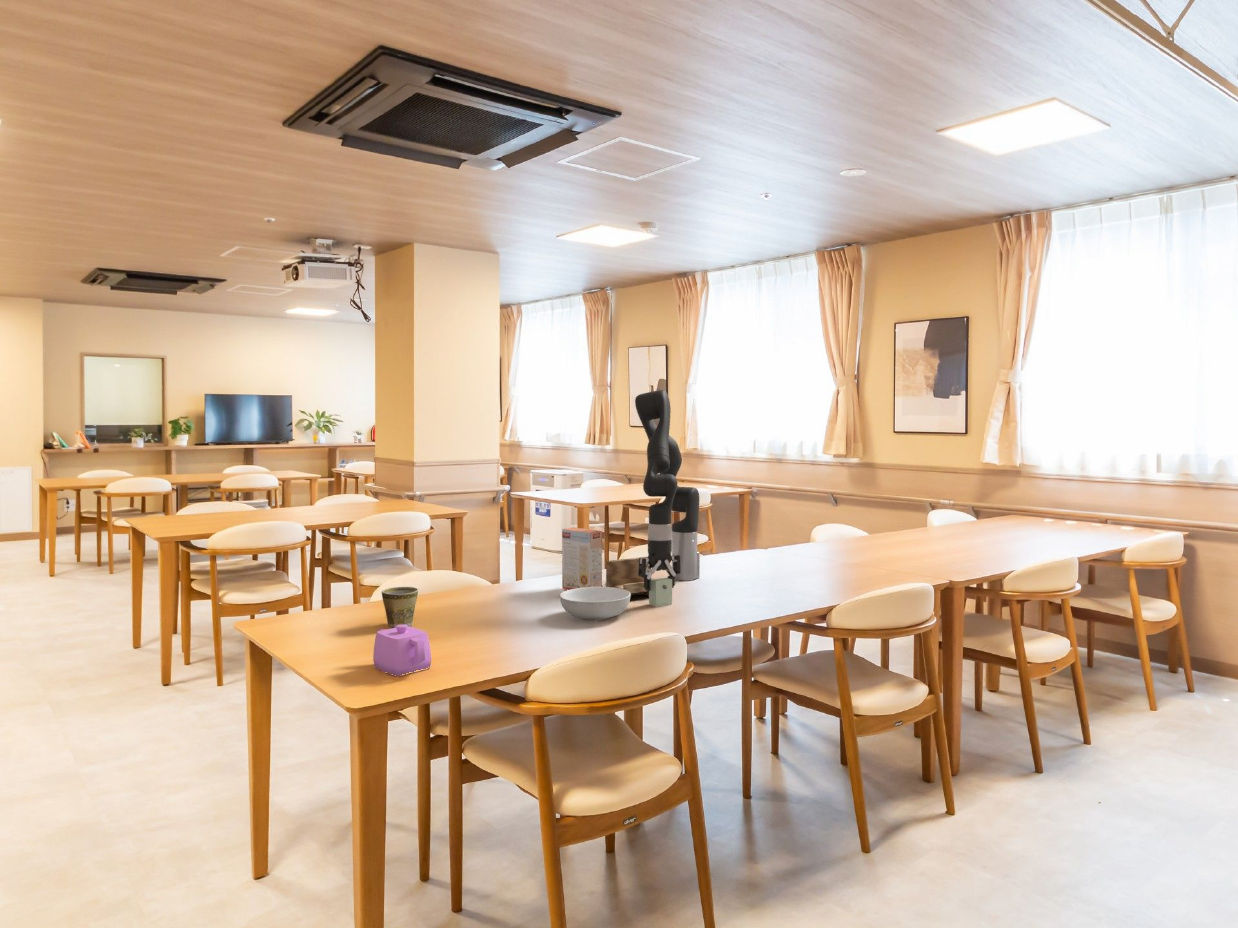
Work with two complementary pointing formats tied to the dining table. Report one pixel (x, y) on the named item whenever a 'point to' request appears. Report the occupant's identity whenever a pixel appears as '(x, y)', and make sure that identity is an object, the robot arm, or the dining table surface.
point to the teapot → (401, 650)
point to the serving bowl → (595, 602)
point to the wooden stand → (625, 576)
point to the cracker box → (581, 558)
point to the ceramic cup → (400, 605)
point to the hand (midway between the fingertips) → (659, 589)
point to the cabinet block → (660, 592)
